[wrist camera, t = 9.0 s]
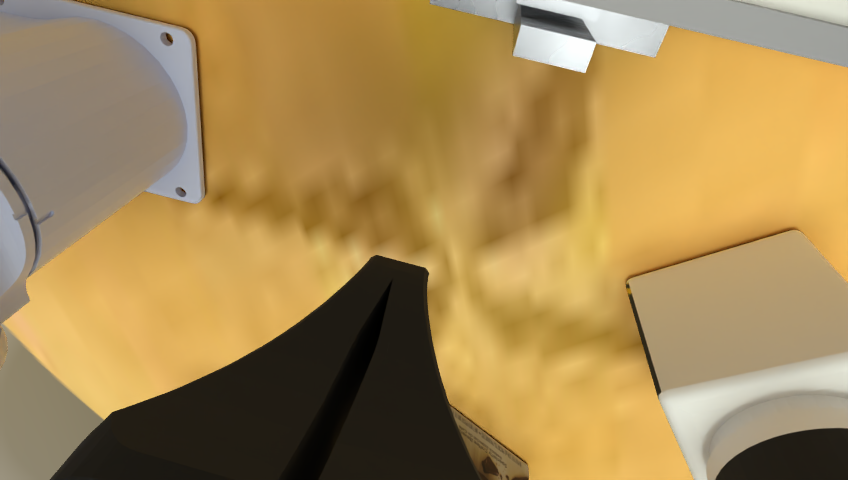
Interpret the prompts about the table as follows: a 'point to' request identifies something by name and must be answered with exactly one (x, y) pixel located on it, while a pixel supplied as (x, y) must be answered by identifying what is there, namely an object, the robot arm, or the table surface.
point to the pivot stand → (565, 29)
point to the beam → (752, 22)
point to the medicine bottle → (751, 359)
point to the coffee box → (489, 453)
